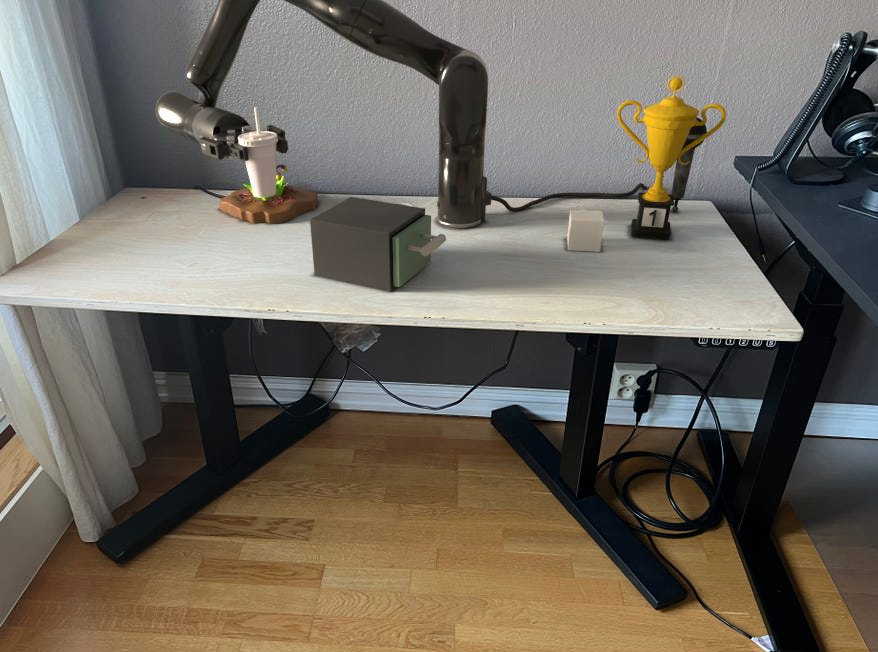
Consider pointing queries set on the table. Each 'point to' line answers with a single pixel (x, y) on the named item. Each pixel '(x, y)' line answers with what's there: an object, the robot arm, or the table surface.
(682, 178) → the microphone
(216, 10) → the robot arm
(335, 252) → the cabinet
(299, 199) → the plant
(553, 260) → the table surface
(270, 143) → the smoothie
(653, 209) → the trophy
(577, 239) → the off-white cube
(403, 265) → the drawer
